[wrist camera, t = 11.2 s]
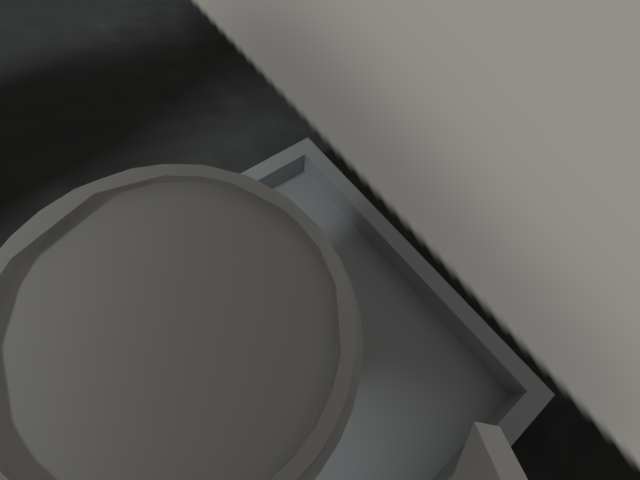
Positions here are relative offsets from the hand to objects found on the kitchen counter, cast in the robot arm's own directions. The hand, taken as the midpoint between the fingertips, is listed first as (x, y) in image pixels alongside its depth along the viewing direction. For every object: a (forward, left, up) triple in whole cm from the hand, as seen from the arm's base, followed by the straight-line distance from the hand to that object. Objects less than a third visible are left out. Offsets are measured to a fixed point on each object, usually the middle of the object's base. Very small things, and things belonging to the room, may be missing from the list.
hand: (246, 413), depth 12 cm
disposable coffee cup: (-3, 0, -8) cm, 9 cm away
